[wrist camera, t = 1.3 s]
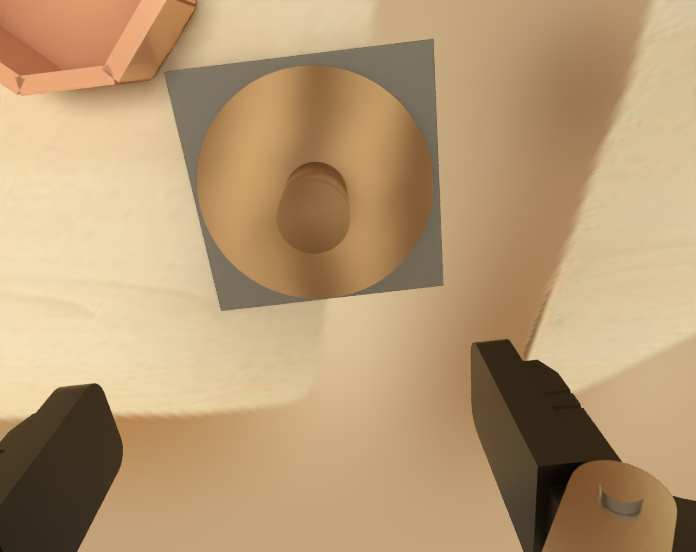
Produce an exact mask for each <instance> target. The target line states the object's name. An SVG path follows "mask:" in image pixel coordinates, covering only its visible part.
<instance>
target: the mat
mask: <svg viewBox="0 0 696 552" xmlns="http://www.w3.org/2000/svg"><path fill="white" fill-rule="evenodd" d="M433 41H434V40H433V39H429V40H421V41H412V42H405V43H396V44H388V45H380V46H372V47H363V48H355V49H347V50H339V51H331V52H323V53H315V54H306V55H298V56H290V57H282V58H274V59H266V60H258V61H249V62H241V63H233V64H225V65H217V66H209V67H200V68H192V69H184V70H176V71H168V72H164V74H165V78H166V83H167V87H168V91H169V95H170V99H171V104H172V108H173V112H174V116H175V120H176V124H177V129H178V133H179V137H180V141H181V145H182V149H183V154H184V158H185V162H186V166H187V170H188V174H189V179H190V183H191V187H192V191H193V195H194V199H195V204H196V208H197V212H198V216H199V220H200V225H201V229H202V233H203V237H204V241H205V245H206V250H207V254H208V258H209V262H210V266H211V270H212V275H213V279H214V283H215V287H216V291H217V295H218V300H219V304H220V308H221V311H224V310H233V309H242V308H251V307H259V306H268V305H277V304H286V303H294V302H303V301H312V300H321V299H311V298H300V297H295V296H289V295H286V294H282V293H279V292H276V291H273V290H271V289H269V288H267V287H264V286H262V285H260V284H259V283H257V282H255V281H253V280H252V279H250V278H249V277H247V276H246V275H245V274H243V273H242V272H241V271H239V270H238V269H237V268H236V267H235V266H234V265H233V264H232V263H231V262H230V261H229V260H228V259H227V258H226V257H225V255H224V254H223V253H222V252H221V250H220V249H219V248H218V246H217V245H216V243H215V241H214V240H213V238H212V237H211V235H210V233H209V231H208V228H207V226H206V224H205V222H204V219H203V216H202V212H201V209H200V205H199V199H198V193H197V169H198V160H199V156H200V152H201V148H202V144H203V142H204V139H205V137H206V134H207V132H208V130H209V128H210V126H211V124H212V123H213V121H214V119H215V117H216V116H217V115H218V113H219V112H220V111H221V109H222V108H223V107H224V106H225V104H226V103H227V102H228V101H229V100H230V99H231V98H232V97H233V96H234V95H236V94H237V93H238V92H239V91H240V90H242V89H243V88H244V87H246V86H247V85H249V84H250V83H252V82H253V81H255V80H257V79H259V78H261V77H263V76H265V75H267V74H270V73H273V72H276V71H279V70H282V69H287V68H292V67H297V66H309V65H320V66H331V67H336V68H340V69H344V70H348V71H351V72H354V73H356V74H359V75H361V76H364V77H366V78H367V79H369V80H371V81H373V82H375V83H376V84H378V85H380V86H381V87H382V88H384V89H385V90H386V91H388V92H389V93H390V94H392V95H393V96H394V97H395V98H396V99H397V100H398V101H399V102H400V103H401V104H402V105H403V106H404V107H405V109H406V110H407V111H408V112H409V114H410V115H411V116H412V118H413V119H414V121H415V122H416V124H417V126H418V128H419V129H420V131H421V133H422V135H423V138H424V140H425V143H426V145H427V148H428V151H429V155H430V159H431V163H432V172H433V197H432V204H431V210H430V213H429V217H428V220H427V223H426V226H425V228H424V230H423V233H422V235H421V237H420V239H419V240H418V242H417V244H416V245H415V247H414V249H413V250H412V251H411V252H410V254H409V255H408V256H407V258H406V259H405V260H404V261H403V262H402V263H401V264H400V265H399V266H398V267H397V268H396V269H395V270H394V271H393V272H391V273H390V274H389V275H387V276H386V277H385V278H384V279H382V280H380V281H379V282H377V283H375V284H373V285H372V286H370V287H367V288H365V289H363V290H361V291H358V292H355V293H352V294H348V295H345V296H340V297H347V296H356V295H364V294H372V293H382V292H390V291H399V290H408V289H417V288H425V287H434V286H443V264H442V241H441V240H442V239H441V216H440V190H439V165H438V140H437V115H436V92H435V91H436V90H435V65H434V42H433ZM334 298H338V297H334ZM323 299H329V298H323Z"/></svg>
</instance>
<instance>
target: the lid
mask: <svg viewBox="0 0 696 552" xmlns="http://www.w3.org/2000/svg"><path fill="white" fill-rule="evenodd" d="M197 193H198V199H199V205H200V209H201V212H202V216H203V219H204V222H205V224H206V226H207V228H208V231H209V233H210V235H211V237H212V238H213V240H214V241H215V243H216V245H217V246H218V248H219V249H220V250H221V252H222V253H223V254H224V255H225V257H226V258H227V259H228V260H229V261H230V262H231V263H232V264H233V265H234V266H235V267H236V268H237V269H238V270H239V271H241V272H242V273H243V274H245V275H246V276H247V277H249V278H250V279H252V280H253V281H255V282H257V283H259V284H260V285H262V286H264V287H267V288H269V289H271V290H273V291H276V292H279V293H282V294H286V295H289V296H295V297H300V298H311V299H323V298H334V297H340V296H345V295H348V294H352V293H355V292H358V291H361V290H363V289H365V288H367V287H370V286H372V285H373V284H375V283H377V282H379V281H380V280H382V279H384V278H385V277H386V276H387V275H389V274H390V273H391V272H393V271H394V270H395V269H396V268H397V267H398V266H399V265H400V264H401V263H402V262H403V261H404V260H405V259H406V258H407V256H408V255H409V254H410V252H411V251H412V250H413V249H414V247H415V245H416V244H417V242H418V240H419V239H420V237H421V235H422V233H423V230H424V228H425V226H426V223H427V220H428V217H429V213H430V210H431V204H432V197H433V172H432V163H431V159H430V155H429V151H428V148H427V145H426V143H425V140H424V138H423V135H422V133H421V131H420V129H419V128H418V126H417V124H416V122H415V121H414V119H413V118H412V116H411V115H410V114H409V112H408V111H407V110H406V109H405V107H404V106H403V105H402V104H401V103H400V102H399V101H398V100H397V99H396V98H395V97H394V96H393V95H392V94H390V93H389V92H388V91H386V90H385V89H384V88H382V87H381V86H380V85H378V84H376V83H375V82H373V81H371V80H369V79H367V78H366V77H364V76H361V75H359V74H356V73H354V72H351V71H348V70H344V69H340V68H336V67H331V66H320V65H309V66H297V67H292V68H287V69H282V70H279V71H276V72H273V73H270V74H267V75H265V76H263V77H261V78H259V79H257V80H255V81H253V82H252V83H250V84H249V85H247V86H246V87H244V88H243V89H242V90H240V91H239V92H238V93H237V94H236V95H234V96H233V97H232V98H231V99H230V100H229V101H228V102H227V103H226V104H225V106H224V107H223V108H222V109H221V111H220V112H219V113H218V115H217V116H216V117H215V119H214V121H213V123H212V124H211V126H210V128H209V130H208V132H207V134H206V137H205V139H204V142H203V144H202V148H201V152H200V156H199V160H198V169H197Z"/></svg>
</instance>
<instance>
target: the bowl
mask: <svg viewBox="0 0 696 552" xmlns="http://www.w3.org/2000/svg"><path fill="white" fill-rule="evenodd" d="M191 4H196V2H195V0H0V83H1V84H2V85H4V86H5V87H7V88H8V89H10V90H11V91H12V92H14V93H15V94H17V95H19V94H21V96H25V95H33V94H41V93H49V92H57V91H65V90H74V89H82V88H90V87H98V86H106V85H114V84H122V83H130V82H138V81H146V80H149V79H151V78H153V76H154V75H155V73H156V72H157V70H158V68H159V67H160V65H161V63H162V62H163V60H164V58H165V57H166V56H167V55H168V54H169V52H170V51H171V50H172V48H173V47H174V45H175V44H176V42H177V40H178V38H179V36H180V34H181V32H182V30H183V27H184V25H185V24H186V22H187V20H188V19H189V17H190V15H191V14H192V12H193V11H194V9H195V7H194V6H193V5H191Z"/></svg>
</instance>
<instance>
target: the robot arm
mask: <svg viewBox="0 0 696 552" xmlns="http://www.w3.org/2000/svg"><path fill="white" fill-rule="evenodd" d="M471 402H472V413H473V418H474V423H475V427H476V430H477V433H478V436H479V439H480V441H481V444H482V446H483V449H484V451H485V454H486V457H487V459H488V462H489V464H490V467H491V469H492V472H493V474H494V477H495V480H496V482H497V485H498V487H499V490H500V492H501V495H502V497H503V500H504V503H505V505H506V508H507V510H508V512H509V516H510V518H511V521H512V523H513V526H514V528H515V531H516V533H517V536H518V539H519V541H520V543H521V546H522V549H523V551H524V552H696V501H693V500H688V499H683V498H679V497H675V496H672V495H671V493H670V492H669V490H668V489H667V488H666V487H665V486H664V485H663V484H662V483H661V482H660V481H659V480H658V479H656V478H655V477H654V476H652V475H651V474H649V473H648V472H645V471H644V470H642V469H640V468H638V467H635V466H633V465H630V464H626V463H623V462H622V461H621V460H620V458H619V457H618V456H617V454H616V453H615V451H614V450H613V449H612V448H611V446H610V445H609V443H608V442H607V441H606V439H605V438H604V436H603V435H602V433H601V432H600V431H599V429H598V428H597V426H596V425H595V424H594V423H593V421H592V420H591V418H590V417H589V415H588V414H587V413H586V411H585V410H584V408H581V405H580V403H579V402H578V400H577V399H576V397H575V396H574V395H573V393H572V394H571V392H570V389H569V388H568V386H567V385H566V383H565V382H564V381H563V379H562V378H561V377H560V375H559V374H558V373H557V372H556V371H554V370H553V369H551V368H549V367H548V366H546V365H545V364H543V363H542V362H540V361H539V360H531V361H523V360H522V359H521V357H520V356H519V354H518V352H517V351H516V349H515V348H514V346H513V345H512V343H511V342H510V340H508V339H503V340H494V341H486V342H476V343H473V344H472V346H471ZM122 456H123V446H122V440H121V437H120V434H119V431H118V429H117V426H116V423H115V421H114V418H113V415H112V412H111V410H110V407H109V404H108V401H107V399H106V396H105V393H104V391H103V389H102V388H101V386H100V385H98V384H96V383H95V384H84V385H75V386H66V387H59V388H57V389H56V390H55V391H54V392H53V393H52V394H51V395H50V397H49V398H48V399H47V400H46V401H45V403H44V404H43V405H42V406H41V407H40V409H39V410H38V411H37V412H36V413H35V414H32V415H31V416H30V417H28V418H27V419H25V420H24V421H23V422H21V423H20V424H19V425H17V426H16V427H15V428H13V429H12V430H11V431H9V432H8V433H7V435H6V436H5V437H4V438H3V439H2V441H1V442H0V552H77V551H78V549H79V547H80V545H81V543H82V541H83V539H84V537H85V535H86V533H87V531H88V529H89V527H90V525H91V524H92V522H93V520H94V518H95V515H96V514H97V512H98V510H99V508H100V506H101V504H102V502H103V500H104V498H105V496H106V494H107V492H108V490H109V488H110V487H111V484H112V483H113V481H114V479H115V477H116V475H117V473H118V471H119V469H120V466H121V462H122Z"/></svg>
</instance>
